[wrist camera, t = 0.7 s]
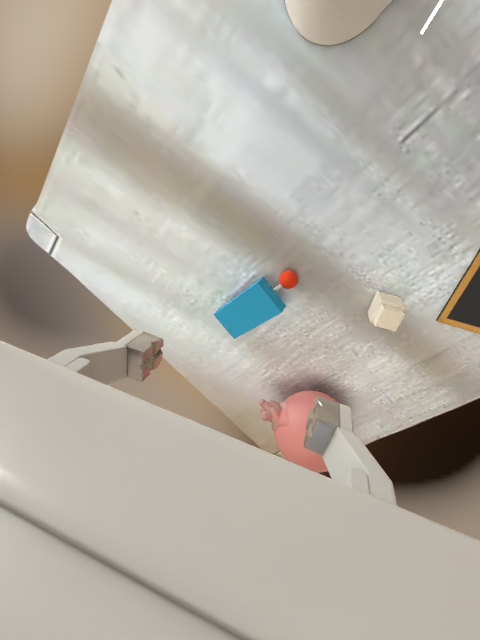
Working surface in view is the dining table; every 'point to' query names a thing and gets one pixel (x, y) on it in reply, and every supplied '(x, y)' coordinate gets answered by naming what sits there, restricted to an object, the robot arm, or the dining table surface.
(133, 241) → the dining table surface
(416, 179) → the dining table surface
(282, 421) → the balloon
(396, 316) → the stepped beige block
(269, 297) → the lever
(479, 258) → the centre mat
